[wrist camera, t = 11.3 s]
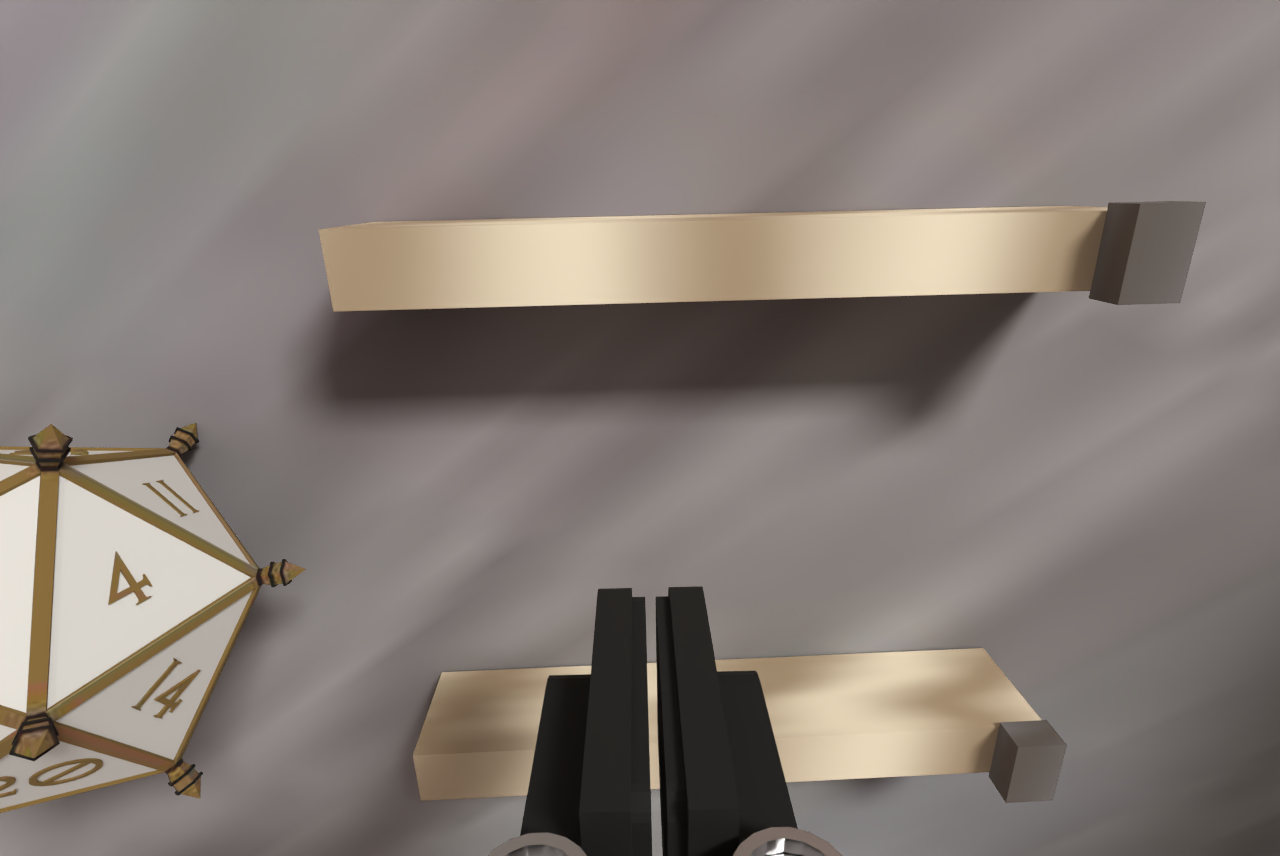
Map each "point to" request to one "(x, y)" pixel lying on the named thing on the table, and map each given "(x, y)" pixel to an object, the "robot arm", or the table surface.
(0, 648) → the game die
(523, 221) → the parallel beige rails
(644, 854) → the robot arm
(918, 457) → the table surface
